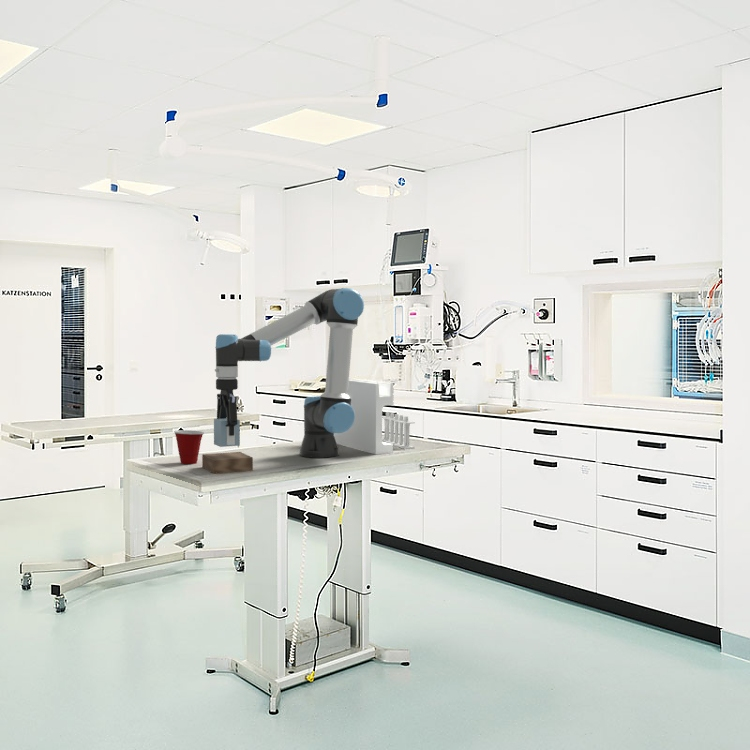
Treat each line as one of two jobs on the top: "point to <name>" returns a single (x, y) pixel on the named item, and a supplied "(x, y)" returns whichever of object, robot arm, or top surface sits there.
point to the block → (367, 416)
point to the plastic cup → (188, 445)
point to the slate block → (225, 433)
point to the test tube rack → (397, 430)
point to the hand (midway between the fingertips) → (226, 443)
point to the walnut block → (227, 462)
